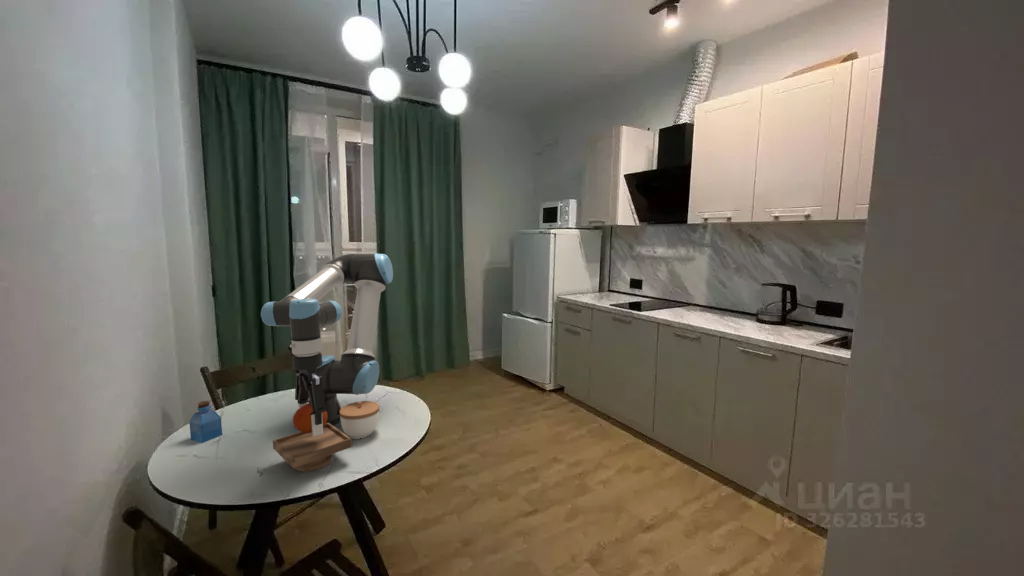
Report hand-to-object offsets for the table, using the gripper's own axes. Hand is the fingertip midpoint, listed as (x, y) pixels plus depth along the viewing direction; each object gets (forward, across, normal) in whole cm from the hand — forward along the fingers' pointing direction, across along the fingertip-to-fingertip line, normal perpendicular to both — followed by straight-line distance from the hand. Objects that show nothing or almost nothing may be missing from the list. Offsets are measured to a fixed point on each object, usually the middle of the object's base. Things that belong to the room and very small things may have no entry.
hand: (311, 429), depth 118 cm
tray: (+10, 0, 0) cm, 10 cm away
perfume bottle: (+10, -43, -18) cm, 48 cm away
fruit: (+1, 0, 0) cm, 1 cm away
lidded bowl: (+10, -7, +18) cm, 22 cm away
